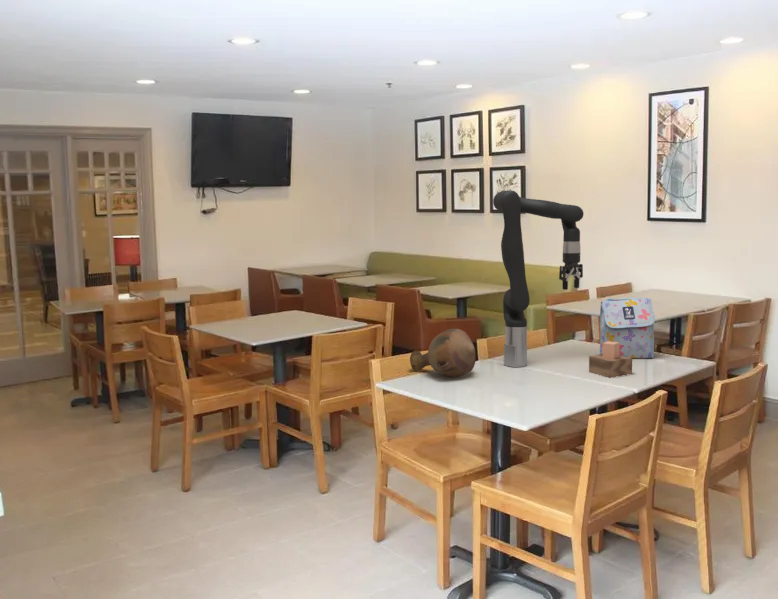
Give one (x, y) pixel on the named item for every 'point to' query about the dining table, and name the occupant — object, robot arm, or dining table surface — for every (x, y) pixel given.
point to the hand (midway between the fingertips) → (570, 288)
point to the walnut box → (610, 366)
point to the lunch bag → (628, 326)
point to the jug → (447, 354)
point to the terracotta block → (610, 350)
